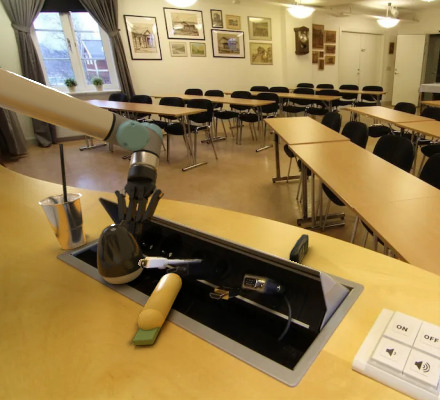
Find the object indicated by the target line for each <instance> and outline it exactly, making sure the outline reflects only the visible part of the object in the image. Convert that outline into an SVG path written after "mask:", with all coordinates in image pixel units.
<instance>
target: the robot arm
mask: <svg viewBox="0 0 440 400" xmlns="http://www.w3.org/2000/svg"><path fill="white" fill-rule="evenodd" d="M0 108H2V109H5V110H7V111H8V110H9V111H11V112H13V113H17V114H20V115H23V116H26V117H29V118H32V119H35V120H39V121H41V122H45V123H47V124H50V125H53V126H57V127H60V128H62V129H63V128H64V129H67V130H69V131H72V132H76V133H78V134H82V135H84V136H88V137H91V138H94V139H97V140H100V141H103V142H104V143H109V144H112V145H114V146H118V147H120V148H122V149H124V150H127V151H131V156H130V162H129V166H128V167H129V168H128V173H127V178H126V184H125V185H124V186H123V188H122V189H120V190H118V189H116V190H114V196H116V198H117V210H118V211H117V212H118V221H120V223H121V222H122V220H126V221H127V223H126V225H125V228H126V229H127V230H128V231H129V232H130V233H131V234H132V235H133V237H134V238H135V240H136V241H137V242H138V237H140V236H142V232H143V227H144V224H149V223H151V221H152V219H153V217H154V215H155V212H156V210H157V207H158V205H159V203H160V200H161V199H162V198H163V197H164V195H165V193H164V191H162V190H161V189H160V188H157V185H156V184H157V178H158V172H159V163H160V158H161V157H160V156H161V151H162V146H163V142H164V141H163V140H164V139H163V138H164V136H163V135H164V132H163V130H162V128H161V127H160V126H159V125H157V124H155V123H151V122H145V121H144V122H139V121H137V120H134V119H130V118H129V117H128V118H127V117H126V116H122V115H121V114H117V113H114V112H112V111H110V110H107V109H105V108H103V107H100V106H97V105H95V104H92V103H90V102H87V101H85V100H82V99H80V98H77V97H74V96H72V95H69V94H67V93H65V92H62V91H59V90H58V89H55V88H52V87H51V86H50V87H49V86H47V85H44V84H42V83H40V82H37V81H34V80H32V79H29V78H27V77H24V76H22V75H19V74H17V73H15V72H12V71H9V70H6V69H5V68H2V67H0ZM127 195H128V206H127V201H126V198H127ZM150 197H151V198H150ZM149 198H150V199H149Z"/></svg>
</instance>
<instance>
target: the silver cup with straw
mask: <svg viewBox="0 0 440 400" xmlns="http://www.w3.org/2000/svg"><path fill="white" fill-rule="evenodd" d="M58 147H59V149H58V150H59V160H60V173H61V185H62V193H58V194H54V195H49V196H46V197H43V198H41V199H40V200H38V201H37V204H38V205H40V206H41V208H42V211H43V213H44V214H45V218H46V219H47V221H48V223H49V225H50V227H51V229H52V231H53V234H54V235H55V237H56V240H57V242H58V244H59V246H60V249H62V250H67V251H68V250H74V248H75V249H78V248H80V247H79V246H81V247H82V245H83V246H84V245H86V243H87V239H86V232H85V231H86V230H85V226H84V218H83V211H82V203H81V198H82V194H81V193H77V192H68V190H67V189H68V187H67V176H66V165H65V155H64V144H63V143H58ZM77 247H78V248H77Z"/></svg>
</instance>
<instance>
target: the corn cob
mask: <svg viewBox="0 0 440 400" xmlns="http://www.w3.org/2000/svg"><path fill="white" fill-rule="evenodd" d="M182 281H183V280H182V278H181V277H180V275H178V274H177V273H174V272H170V273H167V274H165V275H163V276H161V278H160V280H159V281H158V283H157V285H156V286H155V288H154V290H153V291H152V293H151V294H150V296H149V298H148V299H147V301H146V302H145V305H144V306H143V308H142V309H141V311H140V312H139V315H138V316H137V326H138V327H139V329H138V330H137V332H136V334H135V335H134V337H133V339H132V344H133V346H144V345H145V346H146V345H153V344H154V343H155V341H156V339H157V336H158V335H159V333H160V330H161V329H162V326H163V324H164V323H165V321H166V319H167V316H168V315H169V312H170V310H171V308H172V306H173V305H174V302H175V301H176V298H177V296H178V294H179V292H180V290H181V288H182V284H183V282H182Z"/></svg>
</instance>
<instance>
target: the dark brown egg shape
mask: <svg viewBox="0 0 440 400" xmlns="http://www.w3.org/2000/svg"><path fill="white" fill-rule="evenodd" d="M126 223H127V221H126V220H122V222H121V221H120V223H119V224H117V223H113V224H109V225H106V227H104V228H103V229H102V231H101V233H100V235H99V237H98V241H97V249H96V250H97V251H96V266H97V271H98V274H99V275H100V276H101V277H102V279H104V280H105V281H106V282H108V283H109V284H114V285H123V284H127V283H130V282H132V281H135V279H137V278H138V277H139V276H140V275H141V274H142V272H143V270H144V267H143V268H142V267H140V266H139V265H138V262H139V260H140V259H143V258H144V259H145V255H144V254H143V251H142V249H141V246H140V245H139V243H138V240H137V241H136V240H135V238H134V237H133V235H132V234H131V233H130V232H129V231H128V230H127V229H126V228H125V226H126Z"/></svg>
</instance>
